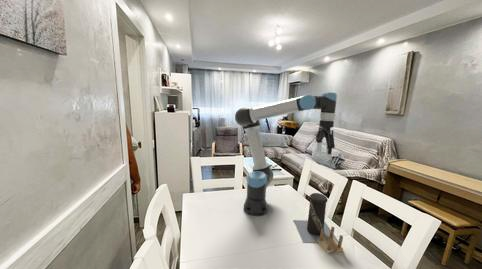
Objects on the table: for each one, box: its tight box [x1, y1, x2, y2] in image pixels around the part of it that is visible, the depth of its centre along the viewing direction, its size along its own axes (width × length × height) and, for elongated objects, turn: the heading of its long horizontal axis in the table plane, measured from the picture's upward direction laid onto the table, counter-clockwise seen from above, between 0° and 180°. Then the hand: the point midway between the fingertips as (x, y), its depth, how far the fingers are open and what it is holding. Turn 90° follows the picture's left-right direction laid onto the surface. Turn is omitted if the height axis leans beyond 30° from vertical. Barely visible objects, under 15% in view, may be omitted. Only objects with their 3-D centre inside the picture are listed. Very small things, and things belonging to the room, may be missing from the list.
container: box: [307, 192, 328, 236], centre depth 101 cm, size 9×9×20 cm
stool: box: [317, 226, 344, 255], centre depth 92 cm, size 8×8×8 cm
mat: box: [292, 219, 339, 244], centre depth 103 cm, size 18×18×1 cm
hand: (322, 156), depth 115 cm, fingers open, 13 cm apart
